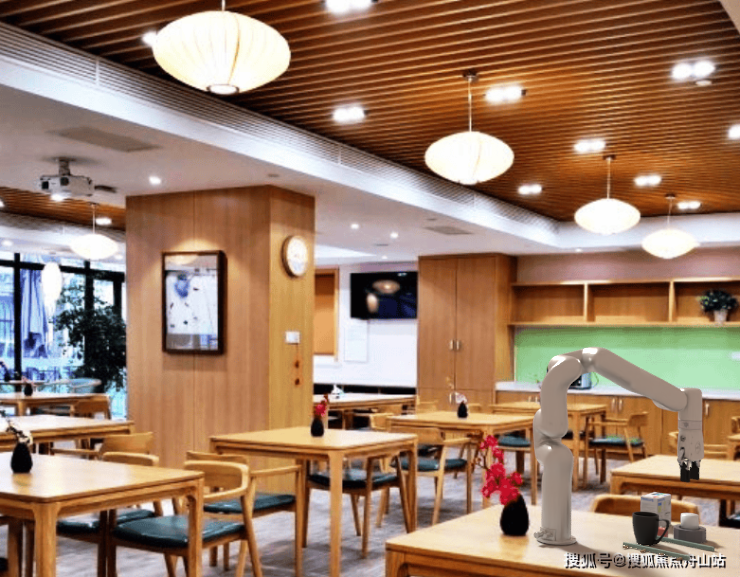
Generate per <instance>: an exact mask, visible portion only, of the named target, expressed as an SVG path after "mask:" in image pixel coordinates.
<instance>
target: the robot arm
mask: <svg viewBox="0 0 740 577" xmlns="http://www.w3.org/2000/svg"><path fill="white" fill-rule="evenodd" d="M547 370H548V371H547V372H546V374H545V376H544V378H543V380H542V381H541V385H540V397H539V398H540V399H539V400H540V401H539V402H540V404H539V405H540V408H539V409H538V410H537V411H536V412H535V413H534V415H533V420H532V435H533V438H532V439H533V449H534V456H535V459H536V460H537V462H538V464H540V465H541V466H542V467H543V470H542V476H541V526H540V528H539V529H540V530H539V531H535V532H534V533H533V538H535V539H536V541H538V542H540V543H543V544H547V545H552V546H553V545H554V546H555V545H556V546H567V545H573V544H575V543H576V542H577V538H576V536H574V535H572V483H573V482H572V481H573V471H574V465H575V464H574V463H575V461H574V460H575V459H574V455H573V452H572V450H571V449H570V448H569V447H568V446H567V445H566V444H564V443H563V442H562V438H563V437H565V435H567V433H568V431H569V426H570V425H569V415H568V390H569V388H570V386H571V384H573V382H575V381H576V380H577V379H579V378H580V376H582V375H585V374H586V375H587V374H589V373H596V374H597V375H599V376H600V377H603V378H605V379H606V380H608V381H610V382H612V383H614V384H616V385H617V386H619V387H620V388H622V389H624V390H626V391H628V392H632V393H635V394H637V395H640V396H642V397H645V398H648V399H650V400H651V401H652V403H653V404H654V405H655V406H656V407H657V408H658V409H661V410H665V411H670V412H674V413H677V430H678V434H677V449H676V451H677V455H676V456H677V458H676V461H677V463H678V466H679V481H680V482H684V483H690V482H691V480H694V481H699V480H700V468H701V462H702V460H703V459H704V458H705V444H704V436H703V435H704V433H703V392H702V390H701V389H700V388H696V387H680V388H678V387H677V386H676V385H673V384H672V383H670V382H668V381H666V380H665V379H662V378H661V377H659V376H657V375H654V374H652V373H650V372H649V371H648V370H645V369H644V368H641V367H639V366H638V365H636V364H634V363H633V362H630V361H628V360H626V359H625V358H623V357H622V356H620V355H618V354H616V353H615V352H613V351H611V350H609V349H607V348H605V347H601V346H589V347H585V348H581V349H577V350H573V351H568V352H564V353H561V354H558V355H555V356H553V357H552V358H551V359H550V360H549V362H548V364H547Z"/></svg>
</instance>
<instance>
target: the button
mask: <svg viewBox="0 0 740 577" xmlns="http://www.w3.org/2000/svg"><path fill="white" fill-rule="evenodd" d="M699 518H700V515H699V514H697V513H692V512H682V513H680V524H681V528H682V529H686V530H699V526H700V521H699V520H700V519H699Z"/></svg>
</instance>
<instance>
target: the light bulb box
mask: <svg viewBox="0 0 740 577" xmlns="http://www.w3.org/2000/svg"><path fill="white" fill-rule="evenodd" d="M640 511H642V512H652V513H656V514H658V515H659V519H667V520H669V522H670V526H671V525H672V494H670V493H662V492H656V491H653V492H650V493H647V494H644V495H640ZM659 527H663V528H666V522H665V521H659Z"/></svg>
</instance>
